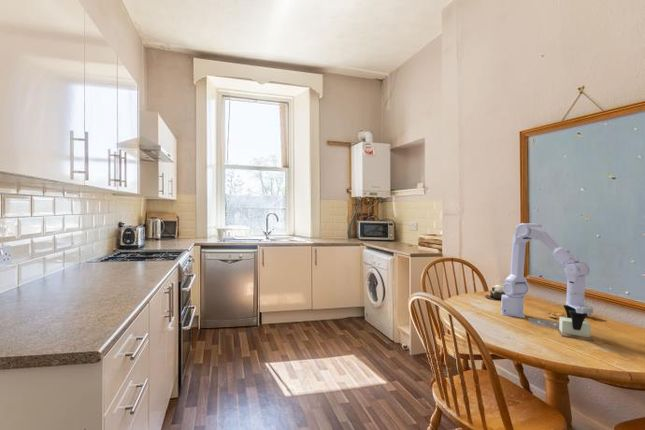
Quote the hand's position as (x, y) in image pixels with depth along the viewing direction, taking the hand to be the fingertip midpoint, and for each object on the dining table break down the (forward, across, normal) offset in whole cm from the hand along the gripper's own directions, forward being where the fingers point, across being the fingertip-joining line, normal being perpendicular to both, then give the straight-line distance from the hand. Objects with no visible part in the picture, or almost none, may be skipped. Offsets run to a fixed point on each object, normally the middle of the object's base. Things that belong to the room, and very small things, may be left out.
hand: (574, 326), depth 136 cm
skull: (+4, +50, +25) cm, 56 cm away
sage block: (+2, 0, 0) cm, 3 cm away
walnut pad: (+3, 0, 0) cm, 3 cm away
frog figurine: (+3, +33, -11) cm, 35 cm away
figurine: (+3, +23, -7) cm, 24 cm away
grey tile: (+3, +11, +7) cm, 13 cm away
